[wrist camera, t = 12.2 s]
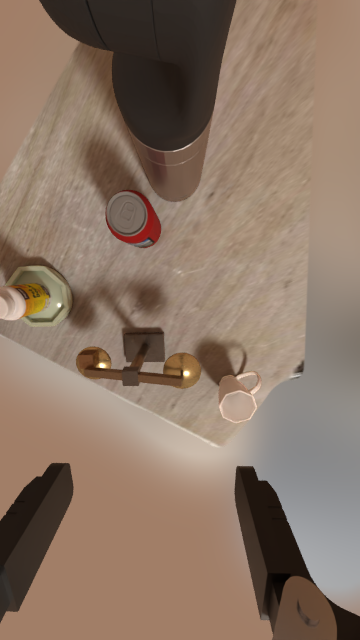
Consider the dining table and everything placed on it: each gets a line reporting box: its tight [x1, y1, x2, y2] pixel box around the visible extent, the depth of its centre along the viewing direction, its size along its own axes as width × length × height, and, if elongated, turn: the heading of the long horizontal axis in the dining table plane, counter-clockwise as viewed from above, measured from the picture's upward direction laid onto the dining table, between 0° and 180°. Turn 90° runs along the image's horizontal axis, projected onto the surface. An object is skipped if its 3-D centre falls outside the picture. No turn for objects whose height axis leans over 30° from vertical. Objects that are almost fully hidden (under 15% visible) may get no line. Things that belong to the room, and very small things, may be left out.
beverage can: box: [106, 190, 161, 248], centre depth 33 cm, size 7×7×12 cm
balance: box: [76, 333, 201, 389], centre depth 38 cm, size 22×6×15 cm, turn 91°
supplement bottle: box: [0, 283, 52, 320], centre depth 37 cm, size 6×6×10 cm
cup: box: [219, 371, 262, 423], centre depth 43 cm, size 7×10×8 cm
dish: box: [5, 265, 73, 327], centre depth 42 cm, size 12×12×2 cm
